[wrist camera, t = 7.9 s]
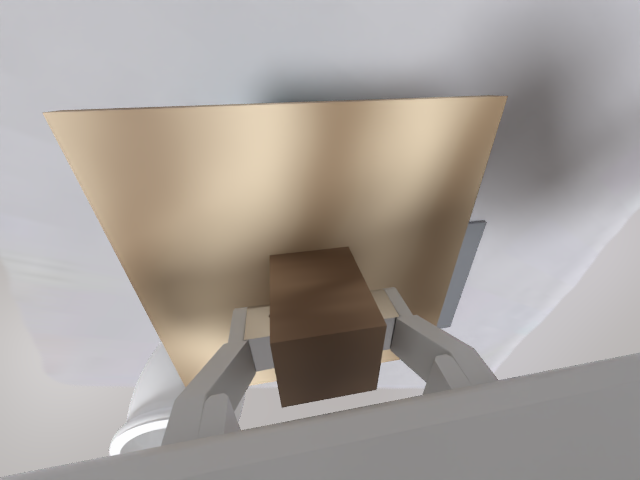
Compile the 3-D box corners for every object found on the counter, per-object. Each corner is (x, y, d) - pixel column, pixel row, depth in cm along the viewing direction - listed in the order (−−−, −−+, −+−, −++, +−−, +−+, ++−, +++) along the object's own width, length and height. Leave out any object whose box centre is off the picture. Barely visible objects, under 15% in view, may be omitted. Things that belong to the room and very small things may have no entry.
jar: (266, 323, 37) (264, 447, 24) (207, 354, 38) (177, 487, 26) (215, 276, 32) (179, 404, 19) (149, 314, 33) (73, 459, 20)
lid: (491, 95, 10) (670, 103, 6) (421, 344, 18) (472, 431, 13) (61, 110, 8) (-195, 142, 4) (193, 382, 16) (163, 499, 11)
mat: (483, 220, 34) (486, 222, 34) (448, 324, 44) (450, 326, 44) (335, 236, 31) (336, 238, 31) (334, 342, 42) (334, 345, 41)
